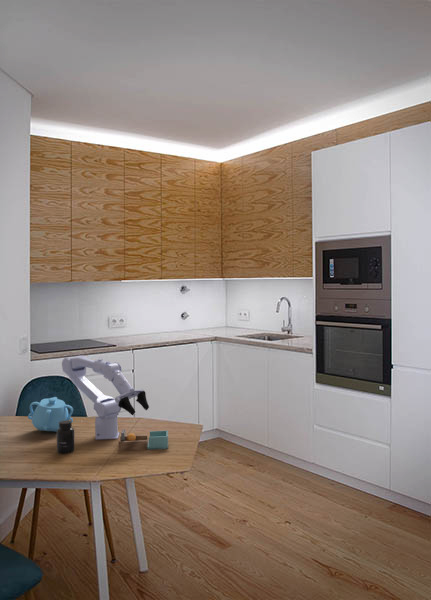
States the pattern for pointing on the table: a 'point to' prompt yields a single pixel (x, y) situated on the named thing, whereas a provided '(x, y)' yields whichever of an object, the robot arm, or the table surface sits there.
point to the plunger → (123, 435)
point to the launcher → (134, 443)
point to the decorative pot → (49, 414)
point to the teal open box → (158, 440)
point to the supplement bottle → (65, 438)
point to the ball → (131, 437)
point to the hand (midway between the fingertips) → (140, 411)
